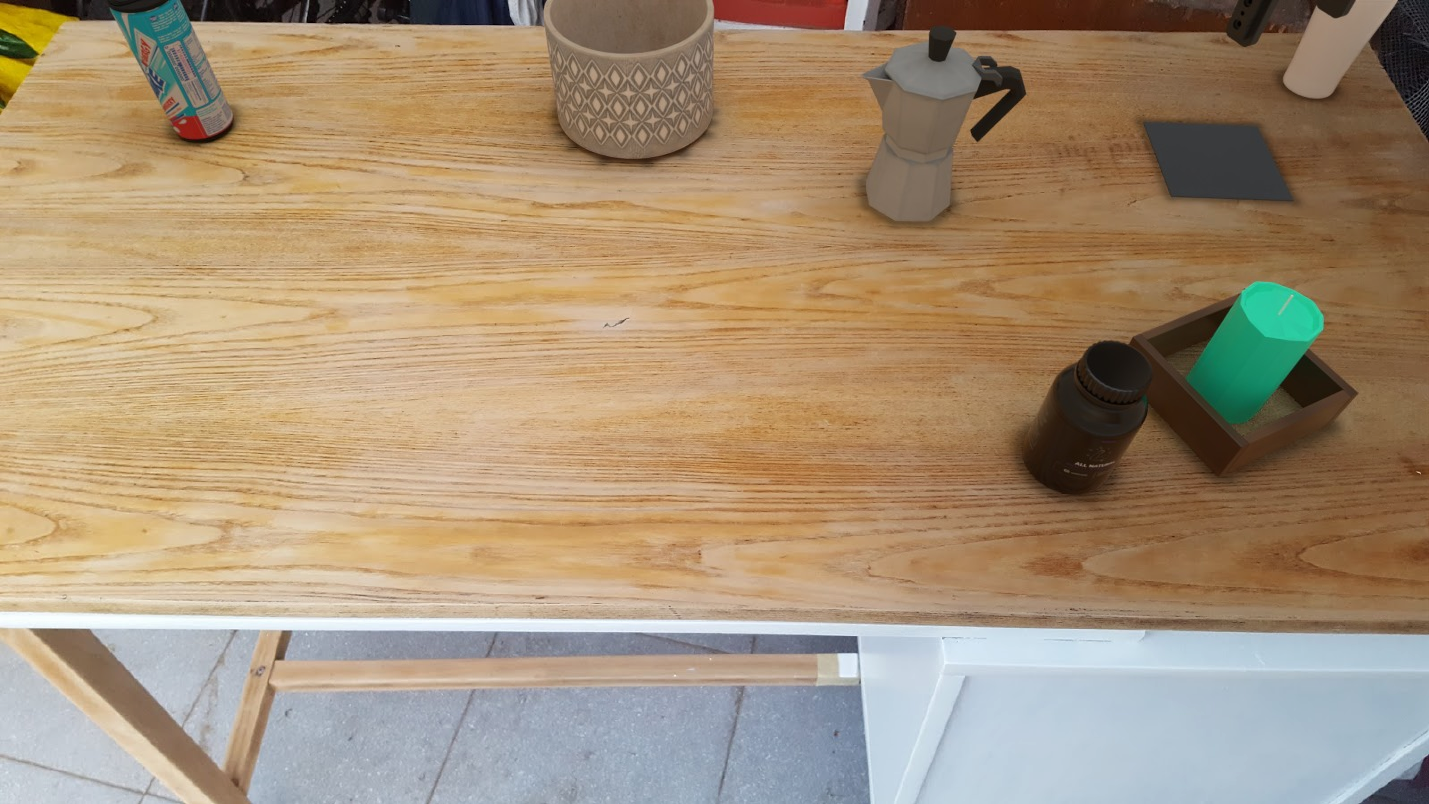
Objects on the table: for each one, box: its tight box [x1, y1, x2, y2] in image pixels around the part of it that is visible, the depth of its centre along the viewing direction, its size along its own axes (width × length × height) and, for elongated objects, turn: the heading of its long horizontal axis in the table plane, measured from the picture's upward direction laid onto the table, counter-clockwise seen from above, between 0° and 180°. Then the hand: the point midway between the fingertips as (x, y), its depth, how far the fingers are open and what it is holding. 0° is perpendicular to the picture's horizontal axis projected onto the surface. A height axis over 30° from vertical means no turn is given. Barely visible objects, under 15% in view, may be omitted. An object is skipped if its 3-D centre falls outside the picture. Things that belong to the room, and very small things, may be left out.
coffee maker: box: [860, 24, 1027, 222], centre depth 87 cm, size 15×9×18 cm, turn 91°
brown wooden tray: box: [1128, 292, 1359, 478], centre depth 77 cm, size 12×12×5 cm
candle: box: [1185, 280, 1325, 425], centre depth 74 cm, size 6×6×12 cm
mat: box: [1143, 121, 1295, 202], centre depth 97 cm, size 12×12×1 cm
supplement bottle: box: [1021, 339, 1153, 496], centre depth 70 cm, size 7×7×12 cm
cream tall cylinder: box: [1282, 0, 1399, 100], centre depth 100 cm, size 7×7×15 cm
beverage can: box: [105, 0, 234, 143], centre depth 94 cm, size 6×6×15 cm
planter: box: [542, 0, 715, 160], centre depth 96 cm, size 16×16×13 cm
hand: (1285, 26), depth 66 cm, fingers open, 8 cm apart
